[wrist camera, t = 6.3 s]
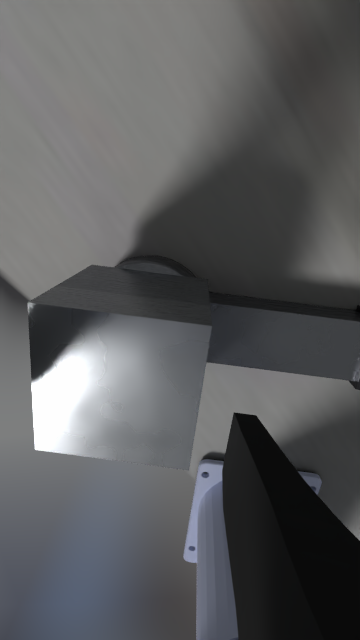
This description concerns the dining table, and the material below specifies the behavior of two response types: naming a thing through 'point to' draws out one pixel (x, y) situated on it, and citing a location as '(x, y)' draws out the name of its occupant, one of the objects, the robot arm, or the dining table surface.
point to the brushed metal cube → (119, 365)
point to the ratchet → (274, 331)
